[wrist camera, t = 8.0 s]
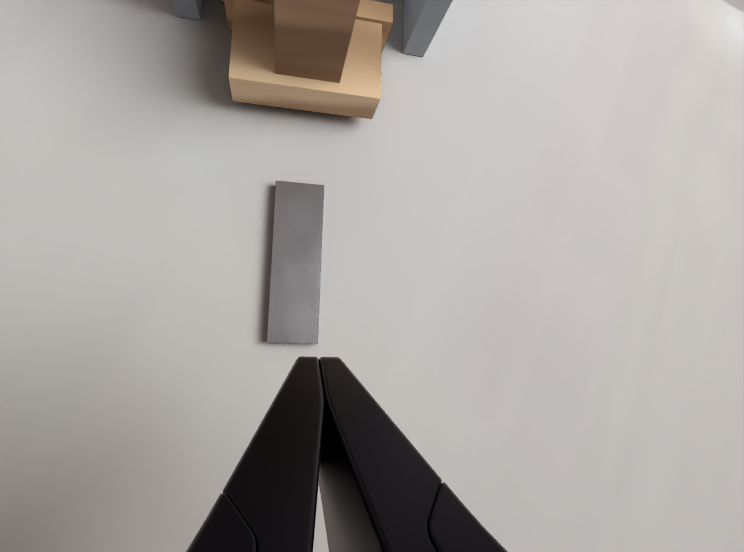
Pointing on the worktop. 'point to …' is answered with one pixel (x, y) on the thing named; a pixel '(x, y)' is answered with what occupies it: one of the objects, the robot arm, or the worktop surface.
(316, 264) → the rail
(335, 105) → the tan wooden stepped block
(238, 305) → the worktop surface
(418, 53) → the grey angular block
